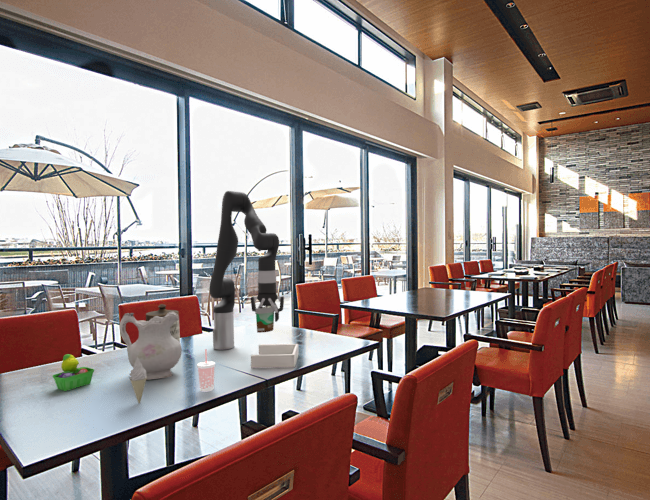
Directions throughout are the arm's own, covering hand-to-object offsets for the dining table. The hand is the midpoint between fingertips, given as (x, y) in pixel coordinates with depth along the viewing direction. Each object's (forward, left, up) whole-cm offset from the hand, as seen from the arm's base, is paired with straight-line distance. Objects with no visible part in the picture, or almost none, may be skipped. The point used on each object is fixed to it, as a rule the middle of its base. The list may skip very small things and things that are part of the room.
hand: (267, 321), depth 175 cm
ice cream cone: (-35, -43, -18) cm, 58 cm away
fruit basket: (-67, -26, -18) cm, 74 cm away
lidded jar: (-54, +22, -18) cm, 61 cm away
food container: (0, 0, -4) cm, 4 cm away
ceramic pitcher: (-43, -15, -18) cm, 48 cm away
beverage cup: (-17, -31, -18) cm, 39 cm away
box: (+2, +2, -17) cm, 18 cm away
